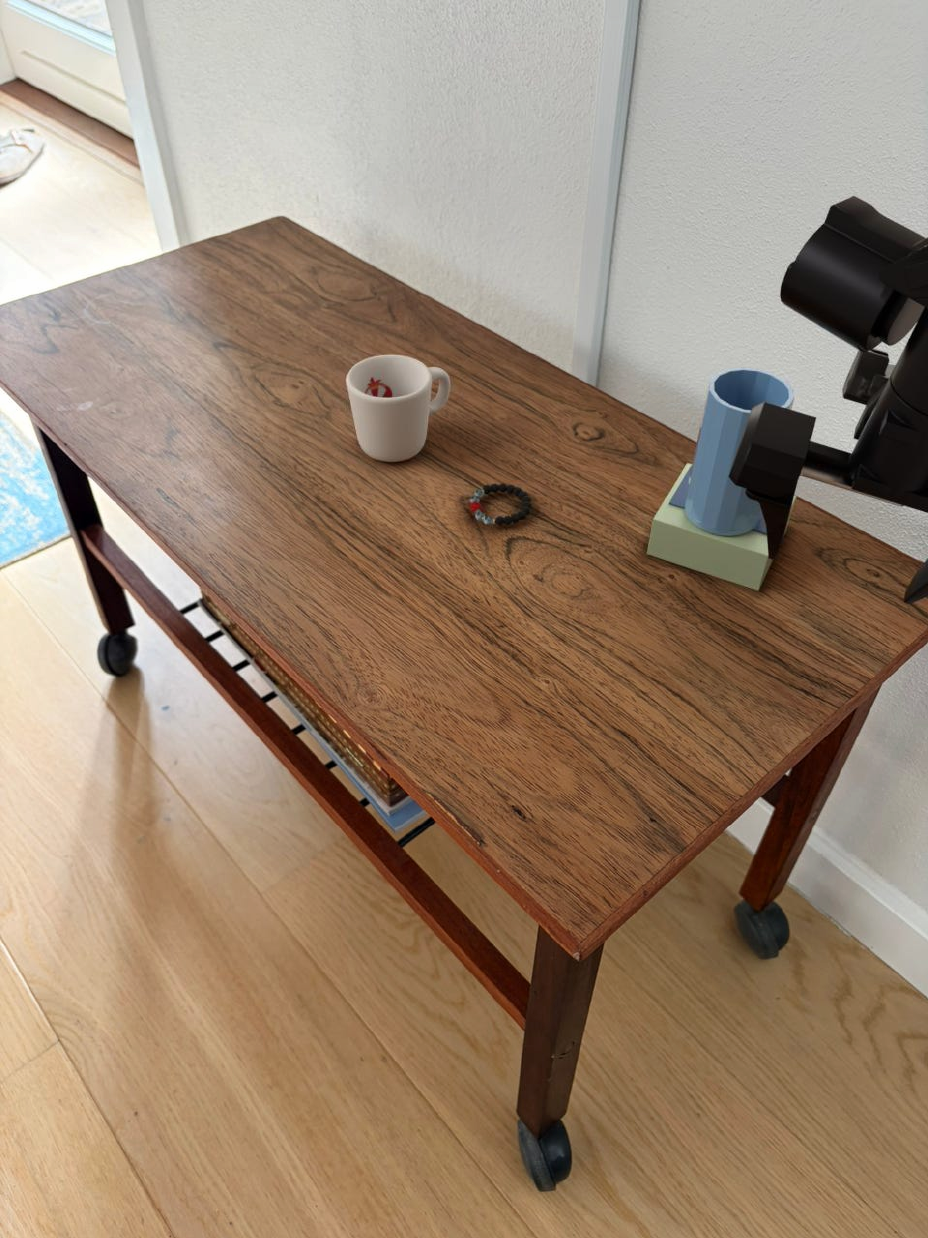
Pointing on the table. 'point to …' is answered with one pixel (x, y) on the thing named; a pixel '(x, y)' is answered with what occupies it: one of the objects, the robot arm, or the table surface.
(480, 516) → the bracelet
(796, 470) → the robot arm
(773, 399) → the blue hollow cylinder
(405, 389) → the cup
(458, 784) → the table surface
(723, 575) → the box
